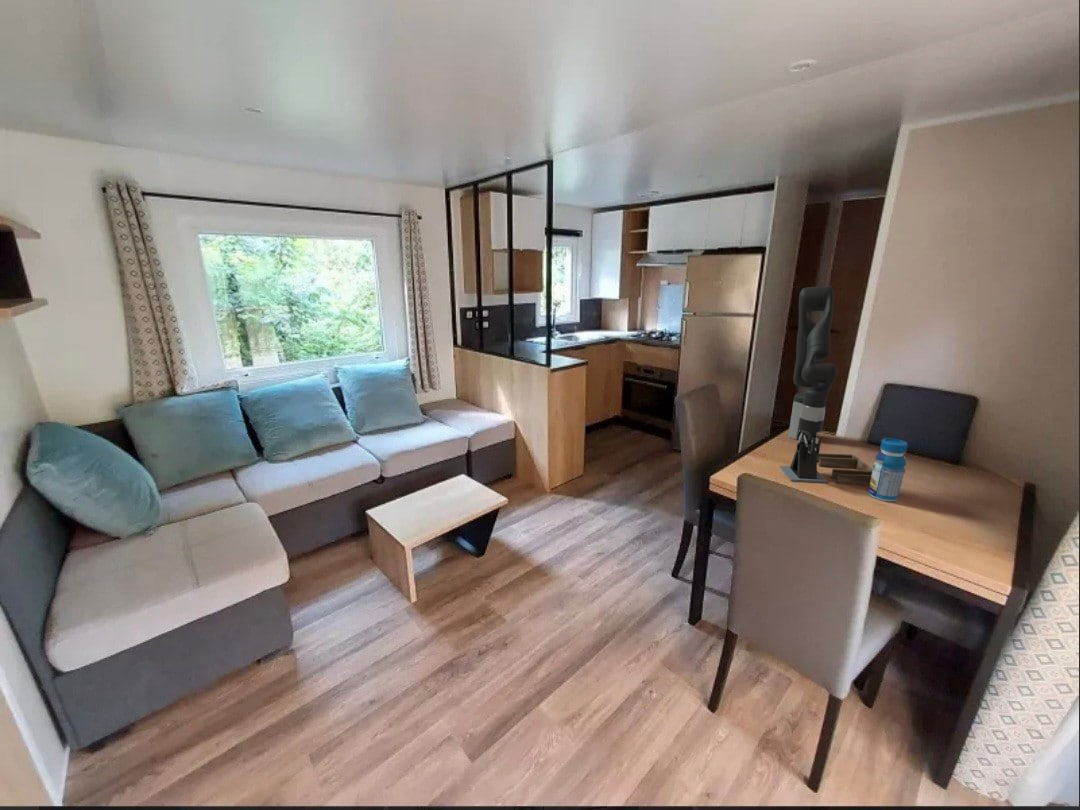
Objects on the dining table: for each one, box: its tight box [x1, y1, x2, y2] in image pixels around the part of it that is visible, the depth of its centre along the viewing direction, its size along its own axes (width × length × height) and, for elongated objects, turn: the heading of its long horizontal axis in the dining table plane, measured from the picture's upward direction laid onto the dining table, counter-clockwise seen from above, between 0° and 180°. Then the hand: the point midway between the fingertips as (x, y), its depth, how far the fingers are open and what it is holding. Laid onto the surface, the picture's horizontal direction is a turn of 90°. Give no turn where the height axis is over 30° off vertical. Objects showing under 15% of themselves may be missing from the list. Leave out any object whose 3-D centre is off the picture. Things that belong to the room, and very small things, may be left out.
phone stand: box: [789, 442, 818, 479], centre depth 163 cm, size 9×6×12 cm, turn 170°
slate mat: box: [779, 465, 828, 484], centre depth 165 cm, size 12×12×1 cm
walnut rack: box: [817, 452, 873, 486], centre depth 166 cm, size 20×14×4 cm
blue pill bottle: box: [867, 437, 909, 502], centre depth 146 cm, size 8×8×20 cm
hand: (805, 458), depth 163 cm, fingers open, 8 cm apart
